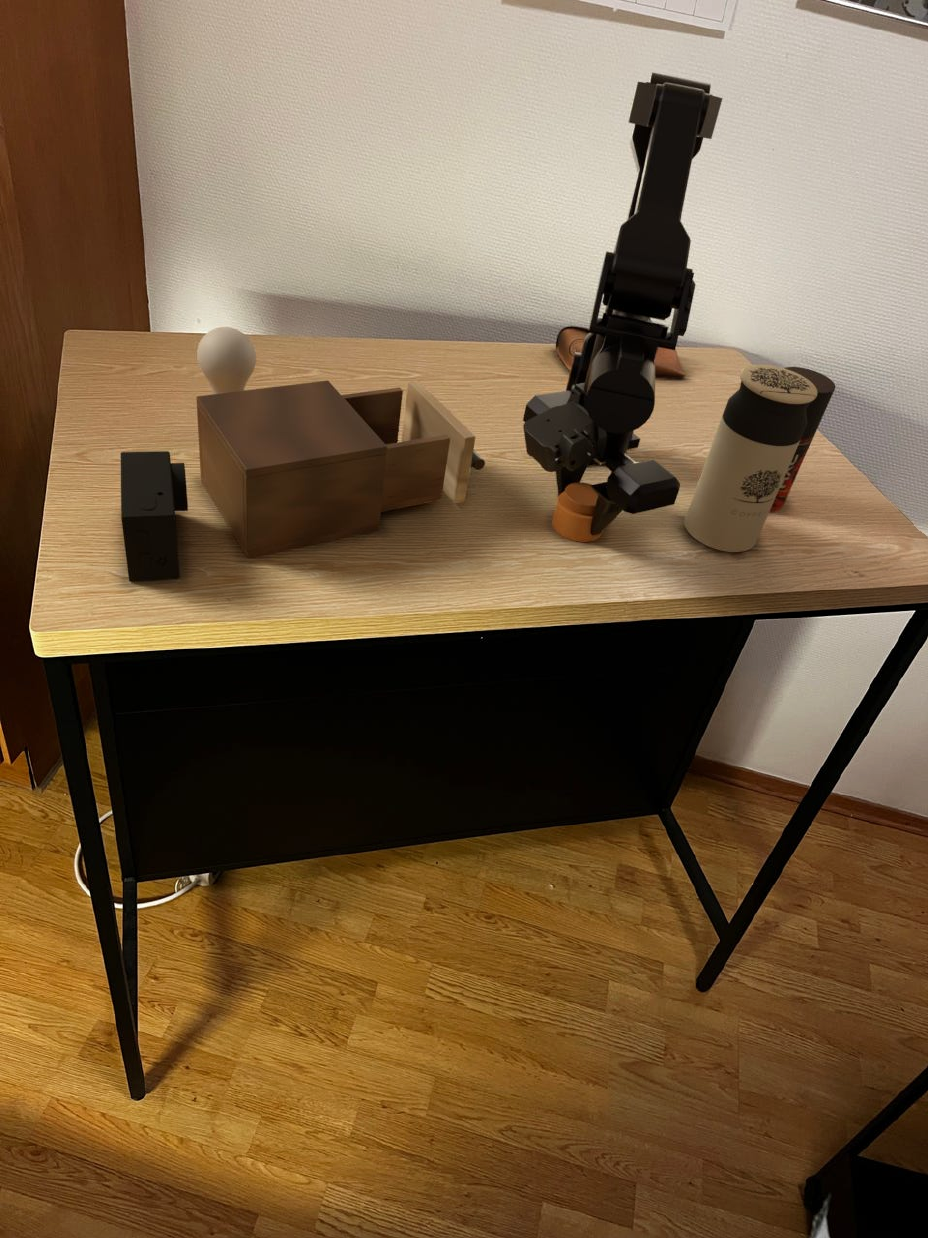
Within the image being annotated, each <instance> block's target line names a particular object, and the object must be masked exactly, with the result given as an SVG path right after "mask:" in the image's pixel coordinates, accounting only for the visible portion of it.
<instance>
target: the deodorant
mask: <svg viewBox="0 0 928 1238" xmlns="http://www.w3.org/2000/svg"><path fill="white" fill-rule="evenodd" d="M783 368H784V369H788V370H790V371H793V372H795V373H798V374H800V375H801V376H803V377H805V378H806V379H808V380H809V381H810V382H812V383H813V384H814V386H815V387H816V389H817V397H816V398H815V399H814V400H813V401H811V402H810V404H809V405H808V407H807V408H806V414H807V426H806V428H805V431H804V433H803V435H802V438H801V440H800V442H799V445H798V447H797V449H796V451H795V454H794V456H793V458H792V461H791V463H790V465H789V468H788V470H787V472H786V474H785V477H784V479H783V481H782V484H781V486H780V488H779V491H778V493H777V495H776V497H775V500H774V502H773V504H772V507H771V509H770V511H769V513H772V512H773V513H774V512H778V511H780V510H781V509H782V508H784V505H785V503H786V501H787V498H788V496H789V493H790V492H791V489H792V487H793V485H794V482H795V480H796V478H797V475H798V473H799V471H800V469H801V467H802V464H803V462H804V460H805V457H806V455H807V453H808V451H809V449H810V446H811V444H812V442H813V440H814V437H815V434H816V432H817V431H818V428H819V425H820V424H821V422H822V419H823V417H824V415H825V413H826V410H827V408H828V406H829V404H830V401H831V399H832V397H833V395H834V392H835V390H836V383H835V382H834V381H833V380H832V379H830V378H829V377H828V376H827V375H825V374H823V373H820V372H818V371H816V370H814V369H809V368H805V367H800V366H786V367H783Z"/></svg>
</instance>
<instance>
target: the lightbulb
mask: <svg viewBox="0 0 928 1238" xmlns="http://www.w3.org/2000/svg"><path fill="white" fill-rule="evenodd" d="M256 353H257V352H256V349H255V346H254V344H253V343H252V341H251V340H250V338H249V337H248V336H247V335H246V334H245V333H244V332H242V331H240V330H239V329H237V328H233V327H229V326H220V327H216V328H213V329H211V330H209V331H208V332H206V333H205V334H204V335H203V337H202V338H201V339H200V341H199V343H198V346H197V350H196V359H197V364H198V366H199V368H200V370H201V372H202V374H203V375H204V377H205V378H206V380H207V382H208V384H209V387H210V388H211V392H212V395H213V394H221V393H229V392H237V391H245V388H246V385H247V383H248V381H249V380H250V378H251V376H252V374H253V372H254V371H255V368H256V363H257V354H256Z"/></svg>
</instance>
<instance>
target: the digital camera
mask: <svg viewBox="0 0 928 1238" xmlns="http://www.w3.org/2000/svg"><path fill="white" fill-rule="evenodd" d="M171 460H172V459H171V453H170V451H168V450H165V451H164V450H161V451H159V450H158V451H122V452H120V518H121V519H120V520H121V527H122V528H121V529H122V535H123V543H124V551H125V560H126V567H127V576H128V582H139V581H140V582H142V581H154V580H155V581H156V580H173V579H179V578H180V577H181V573H180V561H179V560H180V558H179V547H178V544H179V543H178V533H177V523H176V521H177V520H176V512H188V511H189V504H188V503H189V502H188V490H187V489H188V488H187V476H186V466H185V462H171Z"/></svg>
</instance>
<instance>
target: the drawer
mask: <svg viewBox="0 0 928 1238" xmlns="http://www.w3.org/2000/svg"><path fill="white" fill-rule="evenodd" d="M406 388H407V389H406V398H405V407H404V415H403V424H402V433H401V434H402V435H401V441H399V432H400V424H401V415H402V414H401V413H402V412H401V411H402V404H403V395H404V390H403V388H401V387H392V388H385V389H377V390H368V391H363V392H362V391H361V392H354V393H353V392H352V393H347V394H346V393H345V394H341V395H342V397H343V398H344V399H345V400H346V401H347V402H348V403H349V404H350V406H351V407H352V408H353V409H354V410H355V411H356V412H357V413H358V415H359V416H360V417H361V418H362V419H363V420H364V421H365V422H366V423H367V425H368V426H369V427H370V428H371V429H372V430H373V431H374V432H375V434H376V435H377V436H378V437H379V438H380V439H381V440H382V441H383V443H384V444H385V445H386V446H387V454H386V464H385V474H384V484H383V494H382V505H381V513H383V512H388V511H393V510H398V509H404V508H408V507H412V506H417V505H418V506H419V505H422V504H428V503H432V502H438V501H441V500H442V498H443V497H442V496H443V492H444V493H445V494H446V495H447V497H448V498H449V499H450V500H451V501H452V502H453V503H454V504H461V503H464V502H465V501H466V495H467V490H468V483H469V478H470V473H471V468H473V469H474V470H475V471H481V470H482V469H484V468H485V465H486V461H485V459H483V457H482V456H481V455H479V453H478V452H477V451H476V450H475V449H474V448H475V443H476V435H475V434H473V432H471V431H470V429H468V428H467V427H466V425H464V424H463V423H462V421H460V420H459V419H458V418H457V417H456V416H455V415H454V414H453V413H452V412H451V411H450V410H449V409H448V408H447V407H446V406H445V405H444V404H443V403H442V402H441V401H440V400H439V399H438V398H437V397H436V396H434V394H433V393H432V392H431V391H429V390H428V389H427V388H426V386H424V385H423V384H422V382H420V381H419V380H418V379H414V380H408V381H407V387H406ZM398 441H399V442H398Z"/></svg>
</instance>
